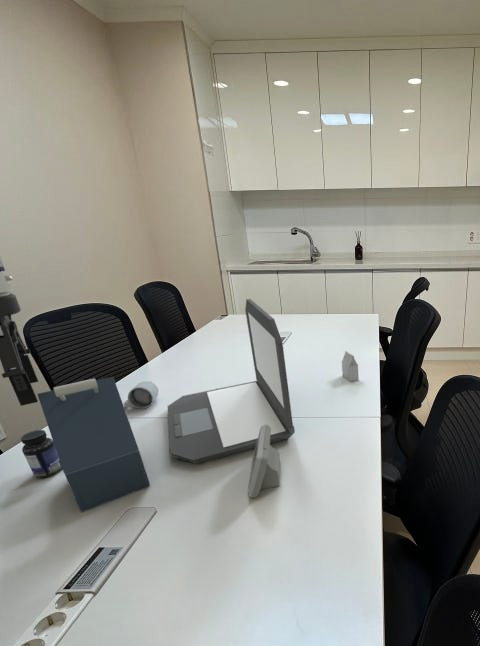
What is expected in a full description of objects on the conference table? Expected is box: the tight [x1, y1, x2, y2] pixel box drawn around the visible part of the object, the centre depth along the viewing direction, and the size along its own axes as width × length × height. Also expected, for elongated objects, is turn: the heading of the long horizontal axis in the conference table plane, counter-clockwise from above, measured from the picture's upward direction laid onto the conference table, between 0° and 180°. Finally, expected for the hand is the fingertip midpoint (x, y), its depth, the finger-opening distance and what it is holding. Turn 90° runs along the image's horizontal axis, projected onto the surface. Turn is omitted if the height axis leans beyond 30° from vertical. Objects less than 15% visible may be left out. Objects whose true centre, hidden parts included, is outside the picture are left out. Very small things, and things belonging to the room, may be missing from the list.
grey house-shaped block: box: [341, 350, 360, 383], centre depth 147 cm, size 4×7×10 cm, turn 27°
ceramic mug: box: [123, 380, 159, 410], centre depth 131 cm, size 11×8×8 cm
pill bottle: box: [20, 429, 63, 479], centre depth 96 cm, size 6×6×11 cm
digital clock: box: [247, 425, 282, 499], centre depth 92 cm, size 16×9×11 cm, turn 0°
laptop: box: [167, 298, 296, 464], centre depth 113 cm, size 43×31×34 cm
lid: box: [37, 376, 140, 475], centre depth 81 cm, size 18×14×9 cm
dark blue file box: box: [64, 449, 151, 513], centre depth 92 cm, size 17×14×10 cm
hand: (30, 392), depth 85 cm, fingers open, 13 cm apart
